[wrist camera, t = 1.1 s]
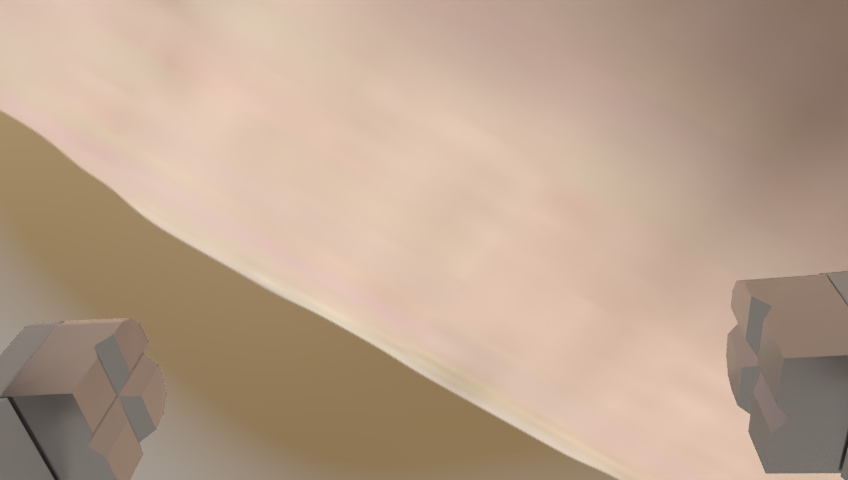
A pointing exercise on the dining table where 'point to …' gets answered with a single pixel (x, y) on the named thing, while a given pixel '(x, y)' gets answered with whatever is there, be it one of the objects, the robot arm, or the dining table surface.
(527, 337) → the dining table surface
